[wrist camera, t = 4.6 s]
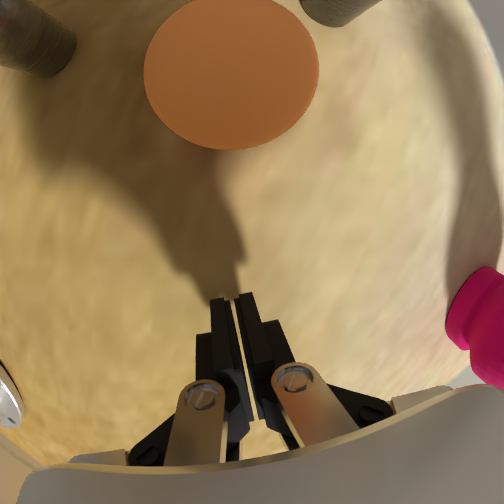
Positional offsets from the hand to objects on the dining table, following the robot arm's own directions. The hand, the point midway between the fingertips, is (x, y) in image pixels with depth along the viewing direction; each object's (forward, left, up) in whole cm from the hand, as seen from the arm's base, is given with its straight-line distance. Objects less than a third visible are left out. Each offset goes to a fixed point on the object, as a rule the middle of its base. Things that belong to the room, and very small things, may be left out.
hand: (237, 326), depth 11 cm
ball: (+1, +9, +1) cm, 9 cm away
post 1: (-6, +13, -2) cm, 14 cm away
